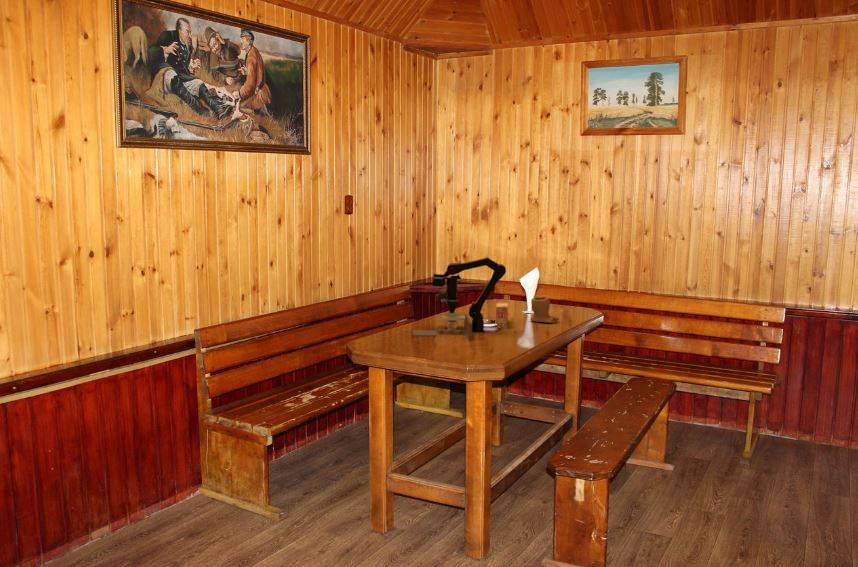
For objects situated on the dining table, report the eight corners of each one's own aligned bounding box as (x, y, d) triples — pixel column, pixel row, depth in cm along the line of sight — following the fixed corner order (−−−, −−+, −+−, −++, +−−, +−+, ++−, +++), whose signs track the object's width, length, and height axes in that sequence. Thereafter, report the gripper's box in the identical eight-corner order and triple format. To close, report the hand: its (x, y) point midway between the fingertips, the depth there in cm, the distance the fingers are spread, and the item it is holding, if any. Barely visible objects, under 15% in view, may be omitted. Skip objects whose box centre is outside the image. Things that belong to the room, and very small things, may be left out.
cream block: (455, 331, 390) (455, 320, 390) (456, 333, 386) (456, 321, 385) (447, 331, 390) (447, 320, 389) (447, 333, 386) (448, 321, 385)
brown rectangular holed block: (466, 330, 395) (467, 314, 393) (471, 341, 370) (472, 323, 369) (437, 330, 394) (438, 314, 393) (440, 340, 369) (441, 323, 368)
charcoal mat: (435, 332, 389) (435, 330, 389) (436, 337, 377) (436, 335, 377) (412, 332, 388) (412, 330, 388) (413, 337, 376) (413, 334, 376)
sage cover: (464, 317, 391) (464, 312, 391) (465, 320, 384) (465, 315, 383) (442, 317, 391) (442, 312, 390) (443, 320, 383) (443, 315, 383)
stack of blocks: (495, 321, 424) (496, 300, 423) (506, 321, 424) (507, 300, 422) (495, 328, 403) (496, 306, 402) (507, 328, 403) (508, 306, 401)
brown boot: (526, 322, 421) (527, 296, 419) (534, 319, 432) (535, 294, 429) (551, 325, 414) (552, 299, 412) (559, 322, 424) (560, 296, 422)
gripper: (435, 284, 399) (435, 312, 402) (437, 289, 381) (436, 319, 383) (456, 284, 400) (455, 313, 402) (459, 289, 381) (458, 319, 383)
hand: (451, 316), depth 393 cm, fingers closed
